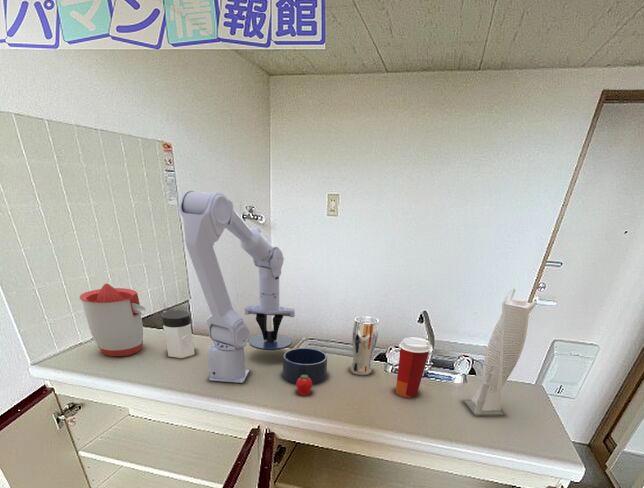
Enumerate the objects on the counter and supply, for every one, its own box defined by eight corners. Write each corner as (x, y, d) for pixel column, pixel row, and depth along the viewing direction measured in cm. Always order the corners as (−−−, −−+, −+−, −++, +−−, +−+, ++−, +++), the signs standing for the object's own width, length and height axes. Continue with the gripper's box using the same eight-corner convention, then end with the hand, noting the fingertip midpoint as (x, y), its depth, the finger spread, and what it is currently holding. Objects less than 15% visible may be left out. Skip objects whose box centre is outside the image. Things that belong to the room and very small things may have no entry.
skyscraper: (461, 399, 105) (494, 286, 89) (491, 399, 105) (529, 287, 89) (475, 415, 98) (513, 297, 82) (507, 415, 99) (551, 297, 82)
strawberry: (295, 395, 104) (295, 379, 102) (297, 388, 108) (297, 372, 105) (311, 396, 104) (311, 380, 101) (312, 389, 107) (313, 373, 105)
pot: (280, 383, 110) (279, 363, 107) (286, 365, 120) (286, 346, 117) (324, 386, 109) (325, 366, 106) (327, 368, 119) (328, 349, 116)
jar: (175, 360, 121) (168, 320, 114) (162, 352, 126) (154, 314, 119) (201, 353, 126) (196, 314, 119) (187, 346, 131) (181, 308, 124)
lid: (244, 350, 118) (243, 336, 116) (253, 335, 129) (253, 321, 126) (288, 353, 117) (288, 339, 114) (294, 338, 128) (294, 324, 125)
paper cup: (422, 389, 109) (433, 338, 101) (419, 401, 103) (430, 349, 95) (393, 384, 111) (402, 334, 103) (389, 396, 105) (397, 344, 97)
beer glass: (372, 377, 115) (379, 325, 106) (347, 374, 116) (352, 322, 107) (373, 367, 120) (380, 317, 112) (350, 365, 121) (355, 315, 113)
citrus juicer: (144, 361, 120) (129, 291, 109) (86, 359, 120) (65, 289, 109) (160, 342, 133) (148, 278, 121) (107, 340, 133) (90, 276, 121)
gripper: (296, 290, 117) (295, 336, 125) (247, 287, 118) (249, 333, 126) (293, 296, 111) (292, 344, 119) (241, 293, 112) (244, 341, 120)
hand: (270, 339), depth 122 cm, fingers closed on lid, 2 cm apart
